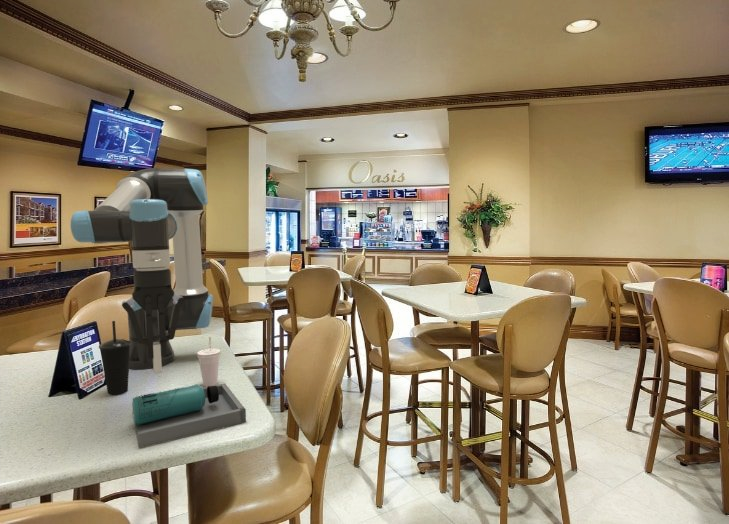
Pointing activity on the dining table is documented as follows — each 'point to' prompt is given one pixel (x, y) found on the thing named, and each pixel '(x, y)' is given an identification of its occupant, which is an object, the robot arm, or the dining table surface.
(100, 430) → the dining table surface
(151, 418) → the beverage bottle
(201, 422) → the charcoal tray
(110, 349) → the drinking cup
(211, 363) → the smoothie
